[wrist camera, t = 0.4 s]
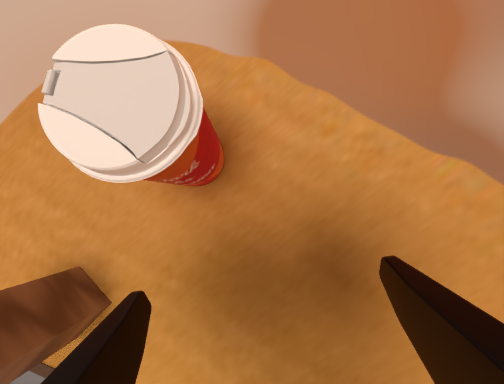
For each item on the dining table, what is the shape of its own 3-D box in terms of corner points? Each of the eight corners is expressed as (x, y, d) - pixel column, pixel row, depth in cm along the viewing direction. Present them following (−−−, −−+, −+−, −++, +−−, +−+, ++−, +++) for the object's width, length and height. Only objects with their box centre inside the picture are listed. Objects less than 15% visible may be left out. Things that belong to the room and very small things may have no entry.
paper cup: (153, 186, 25) (5, 157, 11) (172, 116, 25) (53, -1, 11) (225, 204, 24) (169, 198, 10) (244, 132, 24) (213, 29, 11)
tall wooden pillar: (111, 302, 24) (-69, 410, 11) (76, 338, 24) (-146, 488, 11) (79, 266, 25) (-129, 329, 12) (45, 301, 24) (-203, 404, 12)
